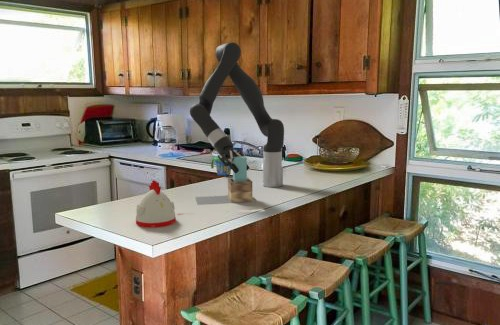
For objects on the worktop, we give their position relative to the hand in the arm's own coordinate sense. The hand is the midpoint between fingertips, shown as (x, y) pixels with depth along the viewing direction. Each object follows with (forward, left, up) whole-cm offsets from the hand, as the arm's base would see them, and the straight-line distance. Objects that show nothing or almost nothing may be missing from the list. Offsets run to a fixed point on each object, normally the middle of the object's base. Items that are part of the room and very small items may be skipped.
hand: (242, 170), depth 182 cm
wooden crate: (+1, -1, -13) cm, 13 cm away
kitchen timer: (+36, +23, -14) cm, 45 cm away
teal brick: (+1, -1, -4) cm, 5 cm away
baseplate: (+8, -2, -13) cm, 16 cm away
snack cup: (0, -66, -14) cm, 67 cm away
